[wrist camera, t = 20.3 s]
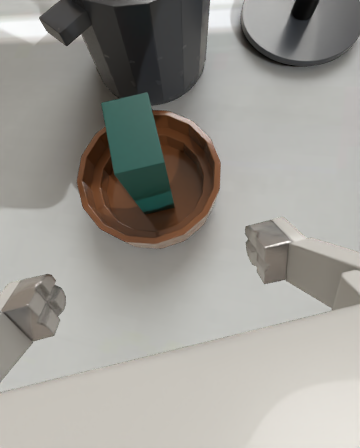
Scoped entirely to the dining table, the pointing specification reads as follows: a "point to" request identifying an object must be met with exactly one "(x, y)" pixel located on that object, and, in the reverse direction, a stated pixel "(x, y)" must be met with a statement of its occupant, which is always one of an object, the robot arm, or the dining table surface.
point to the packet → (137, 152)
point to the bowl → (178, 179)
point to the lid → (301, 29)
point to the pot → (138, 42)
